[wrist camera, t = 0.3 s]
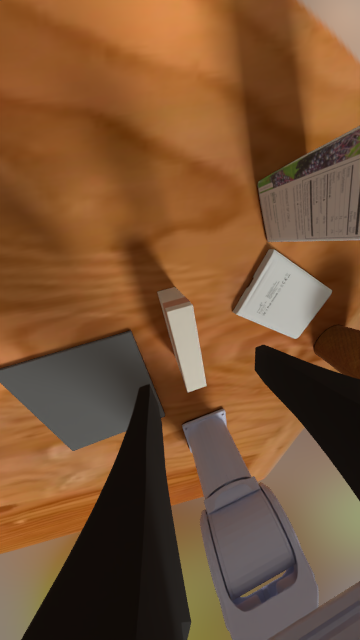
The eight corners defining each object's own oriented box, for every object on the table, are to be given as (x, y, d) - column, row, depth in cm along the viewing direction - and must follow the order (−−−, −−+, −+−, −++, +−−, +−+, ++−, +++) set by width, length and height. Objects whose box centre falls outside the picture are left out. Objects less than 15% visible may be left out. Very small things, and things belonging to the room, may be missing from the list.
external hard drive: (287, 334, 25) (230, 310, 21) (321, 287, 23) (265, 248, 18) (296, 339, 24) (237, 315, 19) (334, 290, 22) (276, 248, 17)
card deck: (189, 351, 21) (206, 385, 16) (174, 355, 21) (187, 392, 16) (175, 286, 17) (192, 304, 12) (156, 291, 17) (166, 312, 11)
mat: (164, 413, 25) (165, 416, 25) (73, 448, 23) (72, 451, 23) (130, 330, 18) (130, 332, 17) (-7, 370, 16) (-10, 373, 15)
